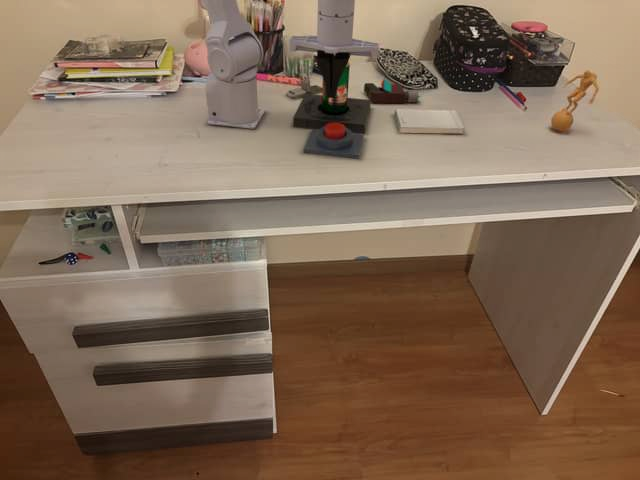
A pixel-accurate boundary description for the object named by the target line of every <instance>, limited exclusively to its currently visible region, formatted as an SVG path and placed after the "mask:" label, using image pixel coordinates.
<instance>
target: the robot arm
mask: <svg viewBox="0 0 640 480" xmlns="http://www.w3.org/2000/svg"><path fill="white" fill-rule="evenodd" d="M203 2H204V7H205V9H206V12H207V15H208V18H209V21H210V28H209V29H208V31H207V34H206V36H205V38H204V43H205V46H206V51H207V55H206V59H207V65H208V66H209V70H210V71H211V72H210V73H209V74H208V75H207V78H206V81H205V98H206V107H207V116H208V121H207V124H208V125H210V126H211V125H212V126H220V127H221V126H222V127H233V128H240V129H250V130H251V129H256V128H257V126H258V124H259V122H260V121H261V119H262V118H263V116H264V114H265V110H264V109H259V99H258V98H259V97H258V81H257V80H258V78H257V73H258V72H259V65H261V63H262V62H263V59H264V47H263V45H262V43H261V41H260V40H259V37H258V36H257V35H256V34H255V33H256V32H255V30H254V26H253V25H252V23H249V21H247V20H246V19H244V17H242V15H241V12H240V9H239V4H238V1H237V0H203ZM355 4H356V0H317V18H316V19H317V20H316V23H317V24H316V35H291V36H290V38H289V44H288V45H289V48H288V49H289V52H293V53H295V52H297V51H301V52H310V53H316V57H315V62H316V65H317V67H318V69H319V71H320V73H321V76H322V80H323V79H324V82H325V86H326V92H327V98H335V97H336V94H337V88H338V84H339V80H340V78H341V75H342V73H343V71H344V69H345V67H346V65H347V63H348V62H350V58H351V56H356V57H368V58H371V59H374V60H377V59H378V58H379V54H380V53H379V52H380V42H371V41H366V40H361V39H357V38H353V33H354V20H355V6H356V5H355ZM334 55H335V56H334Z"/></svg>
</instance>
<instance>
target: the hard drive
mask: <svg viewBox="0 0 640 480" xmlns="http://www.w3.org/2000/svg"><path fill="white" fill-rule="evenodd" d="M394 119H395V123H396V127H397V130H398V132H399V134H400V133H402V134H403V133H404V134H405V133H407V134H461V135H463V134H464V132H465V126H464V124H463V122H462V120H461V119H460V116H459V114H458V113H457V111H456V110H444V109H443V110H440V109H409V108H408V109H407V108H406V109H405V108H403V109H402V108H395V109H394Z"/></svg>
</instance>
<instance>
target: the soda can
mask: <svg viewBox="0 0 640 480" xmlns="http://www.w3.org/2000/svg"><path fill="white" fill-rule="evenodd" d="M334 56H335V55H334ZM350 65H351V64H350V61H348V63H347V65H346V67H345V69H344V71H343V73H342V75H341V78H340V80H339V84H338V88H337V94H336V97H335V98H327V92H326V86H325V82H324V79H323V78H322V84H321V85H322V86H321V88H322V91H321V92H322V93H321V95H322V112H321V113H323V114H327V115H343V114H346V113H347V99H348V98H349V83H350V82H349V80H350V67H351V66H350Z"/></svg>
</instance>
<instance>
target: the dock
mask: <svg viewBox="0 0 640 480" xmlns="http://www.w3.org/2000/svg"><path fill="white" fill-rule="evenodd" d="M371 104H372V102H371V100H370V99H364V98H362V99H361V98H356V97H355V98H354V97H348V99H347V113H346V114H343V115H327V114H323V113H322V94H308V93H306V94H305V95H304V97H302V99H301V101H300V103H299V105H298V108H297V110H296V112H295V114H294V116H293V121H292V124H293V127H294V128H300V129H311V130H319V129H321V128H323V127H325V126H326V125H327V124H329V123H341V124H343V125H344V126H345V128H347V129H350V130H351V132H352V133H353V134H361V135H365V134H366V131H367V130H366V129H367V125H368V120H369V116H370V111H371Z"/></svg>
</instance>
